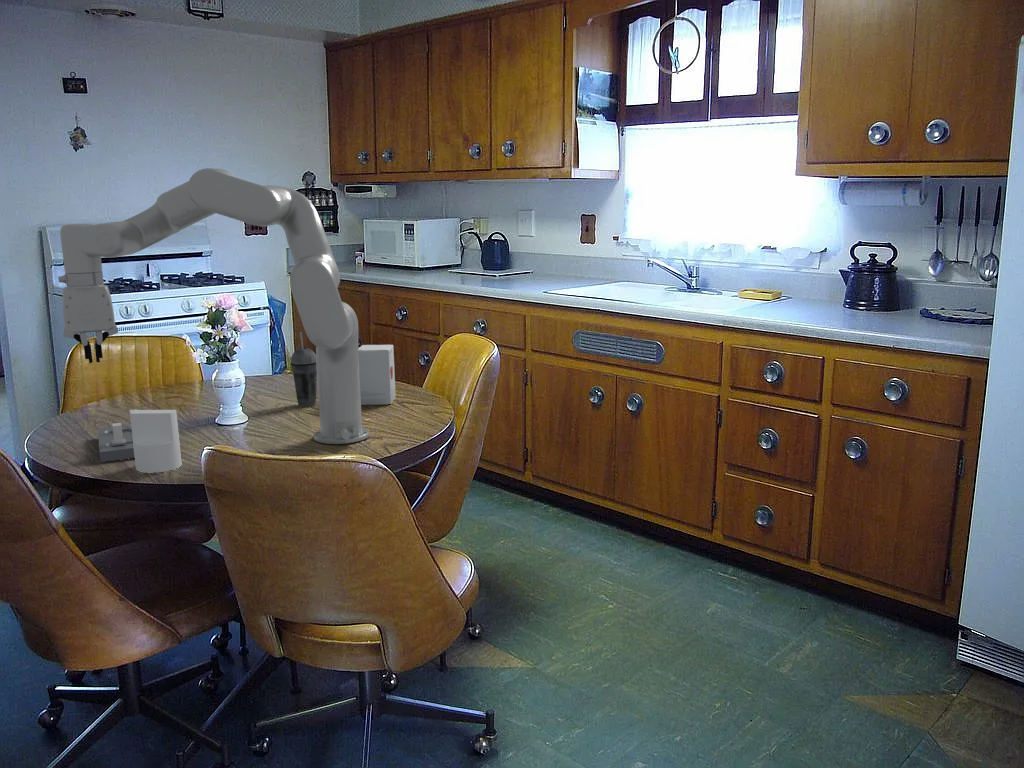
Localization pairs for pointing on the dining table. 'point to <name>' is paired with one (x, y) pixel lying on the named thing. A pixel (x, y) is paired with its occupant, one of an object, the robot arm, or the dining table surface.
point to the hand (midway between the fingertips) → (94, 361)
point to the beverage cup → (304, 375)
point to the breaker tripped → (130, 419)
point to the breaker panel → (116, 451)
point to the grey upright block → (155, 440)
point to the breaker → (118, 435)
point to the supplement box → (376, 374)
